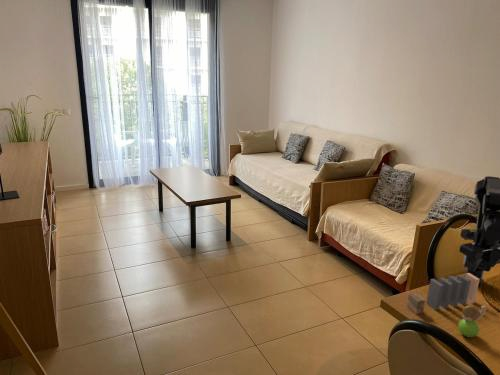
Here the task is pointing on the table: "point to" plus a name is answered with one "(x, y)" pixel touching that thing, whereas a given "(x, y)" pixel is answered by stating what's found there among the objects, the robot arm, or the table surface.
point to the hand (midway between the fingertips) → (481, 269)
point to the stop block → (416, 303)
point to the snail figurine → (471, 320)
